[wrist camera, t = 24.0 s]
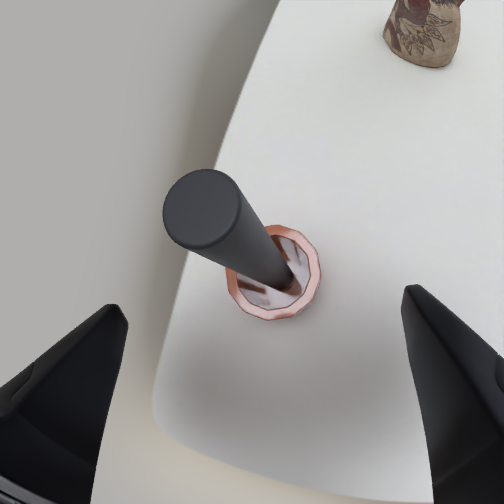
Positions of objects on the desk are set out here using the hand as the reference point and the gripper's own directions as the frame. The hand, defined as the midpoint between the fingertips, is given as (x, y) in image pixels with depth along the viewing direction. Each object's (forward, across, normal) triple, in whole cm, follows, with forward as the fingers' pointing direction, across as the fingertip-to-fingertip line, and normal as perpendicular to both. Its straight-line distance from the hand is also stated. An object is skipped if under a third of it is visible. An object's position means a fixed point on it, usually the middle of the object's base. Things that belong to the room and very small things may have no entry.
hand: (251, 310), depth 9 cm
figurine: (+23, -15, -8) cm, 29 cm away
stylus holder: (+8, 0, +6) cm, 10 cm away
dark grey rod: (+8, 0, +6) cm, 10 cm away
